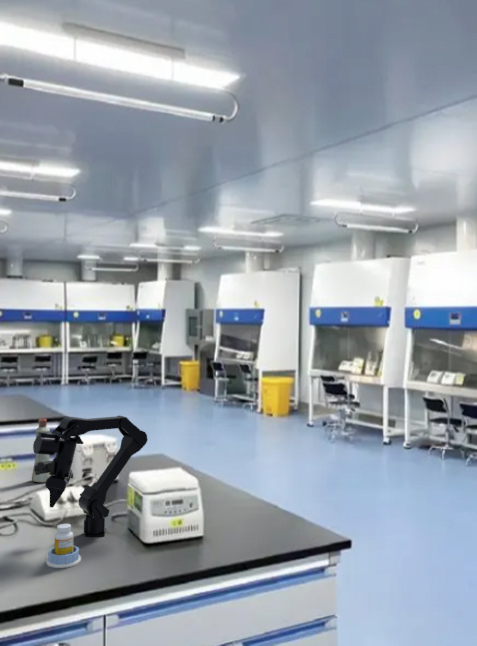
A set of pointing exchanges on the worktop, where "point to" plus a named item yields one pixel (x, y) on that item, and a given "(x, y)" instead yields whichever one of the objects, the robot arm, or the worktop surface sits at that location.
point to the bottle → (41, 457)
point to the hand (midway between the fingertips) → (53, 503)
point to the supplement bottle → (63, 540)
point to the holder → (63, 558)
